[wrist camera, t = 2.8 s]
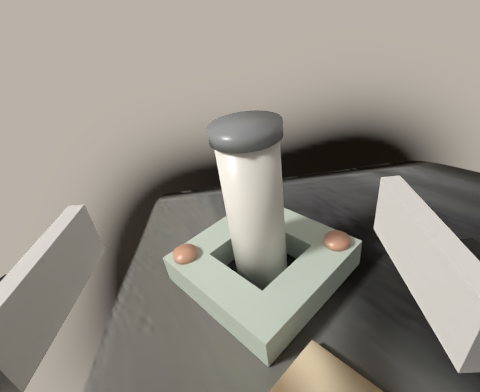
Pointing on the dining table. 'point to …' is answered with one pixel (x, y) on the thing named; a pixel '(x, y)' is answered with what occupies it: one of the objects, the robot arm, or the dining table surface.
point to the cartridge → (252, 191)
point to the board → (321, 374)
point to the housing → (276, 293)
